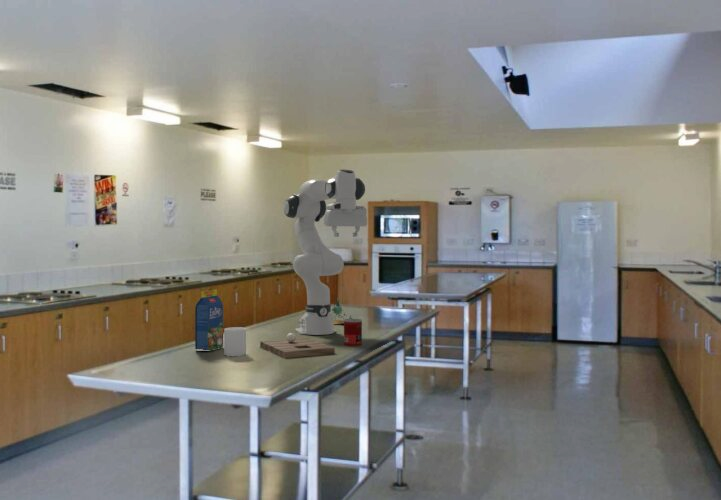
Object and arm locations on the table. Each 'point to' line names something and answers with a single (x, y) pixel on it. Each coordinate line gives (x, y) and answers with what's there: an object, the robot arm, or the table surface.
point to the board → (297, 348)
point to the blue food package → (209, 321)
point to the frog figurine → (338, 310)
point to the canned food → (352, 332)
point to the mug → (235, 341)
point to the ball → (291, 337)
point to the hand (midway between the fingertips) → (345, 236)
